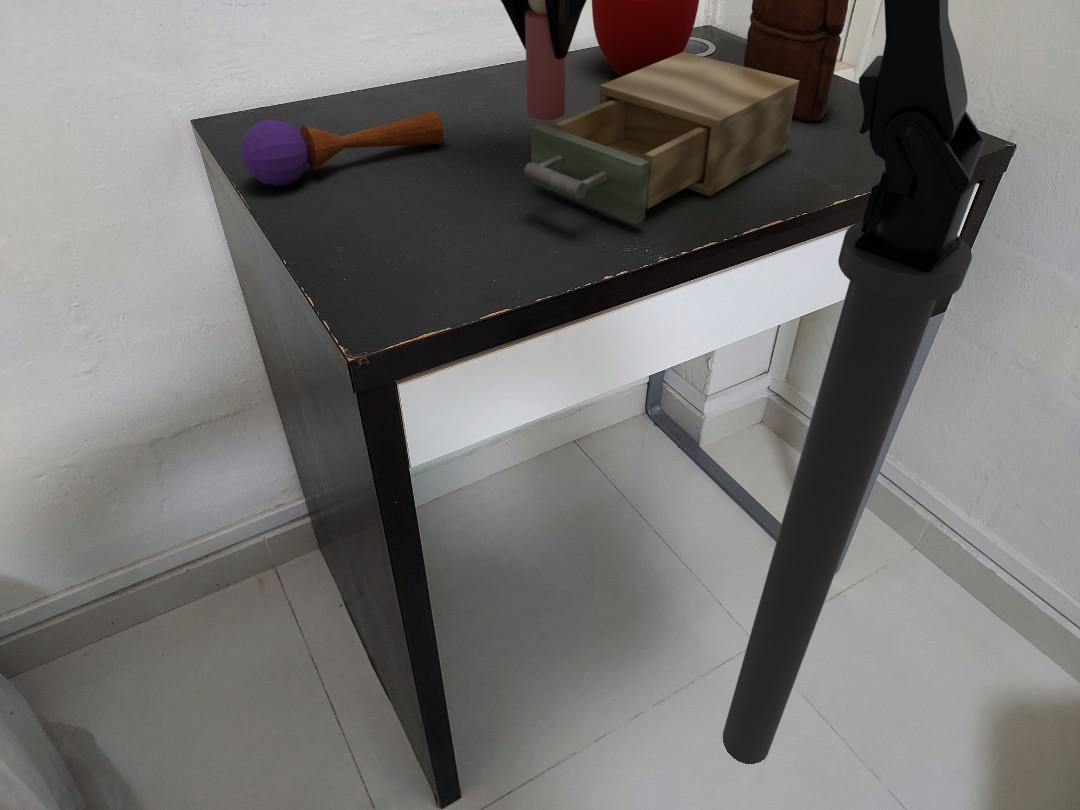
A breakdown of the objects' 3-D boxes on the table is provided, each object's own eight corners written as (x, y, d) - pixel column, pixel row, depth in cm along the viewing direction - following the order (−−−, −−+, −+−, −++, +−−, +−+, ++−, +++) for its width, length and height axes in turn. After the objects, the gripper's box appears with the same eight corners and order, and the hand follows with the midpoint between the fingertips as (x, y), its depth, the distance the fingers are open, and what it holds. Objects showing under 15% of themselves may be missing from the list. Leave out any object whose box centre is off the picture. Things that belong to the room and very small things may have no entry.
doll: (572, 112, 76) (573, -23, 69) (546, 123, 74) (545, -15, 67) (545, 103, 78) (543, -29, 71) (520, 114, 76) (515, -22, 69)
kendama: (451, 114, 79) (250, 145, 70) (447, 167, 83) (257, 203, 74) (424, 86, 82) (228, 112, 73) (422, 139, 86) (236, 169, 77)
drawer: (604, 243, 65) (607, 182, 61) (499, 197, 71) (496, 140, 68) (719, 177, 74) (727, 121, 70) (616, 142, 80) (619, 89, 77)
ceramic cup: (728, 60, 102) (740, -26, 96) (651, 95, 93) (659, 3, 86) (647, 41, 109) (653, -41, 103) (568, 72, 100) (569, -16, 93)
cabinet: (709, 196, 73) (719, 120, 68) (597, 156, 80) (599, 85, 75) (785, 151, 80) (799, 80, 76) (676, 118, 87) (683, 51, 83)
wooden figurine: (845, 112, 88) (889, -74, 76) (812, 127, 85) (853, -64, 73) (757, 86, 95) (785, -88, 83) (724, 99, 92) (749, -80, 80)
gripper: (699, -155, 62) (680, 53, 72) (529, -167, 72) (533, 17, 82) (608, -140, 56) (601, 85, 66) (436, -156, 66) (453, 42, 76)
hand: (545, 53), depth 73 cm, fingers closed on doll, 3 cm apart
